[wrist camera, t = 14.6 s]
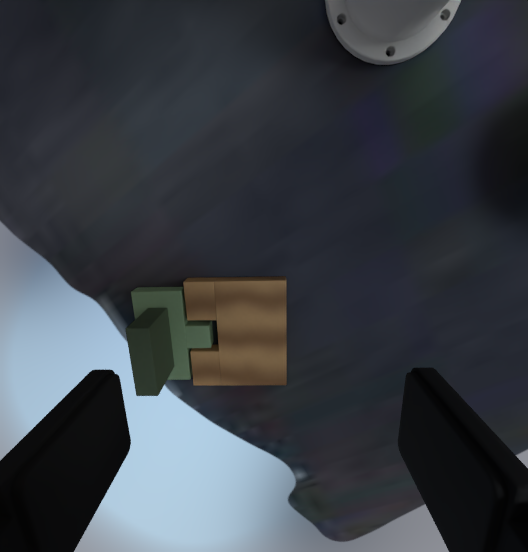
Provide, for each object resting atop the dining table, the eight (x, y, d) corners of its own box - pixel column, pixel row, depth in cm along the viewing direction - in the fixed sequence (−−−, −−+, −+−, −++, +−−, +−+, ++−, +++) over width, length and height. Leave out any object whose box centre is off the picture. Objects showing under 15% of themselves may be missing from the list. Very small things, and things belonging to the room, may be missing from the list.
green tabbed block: (137, 287, 36) (104, 310, 29) (209, 286, 36) (194, 309, 29) (149, 372, 40) (122, 411, 32) (216, 371, 39) (203, 411, 32)
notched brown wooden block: (187, 277, 36) (183, 281, 34) (285, 276, 36) (286, 280, 34) (196, 377, 40) (193, 385, 38) (285, 376, 39) (286, 385, 38)
